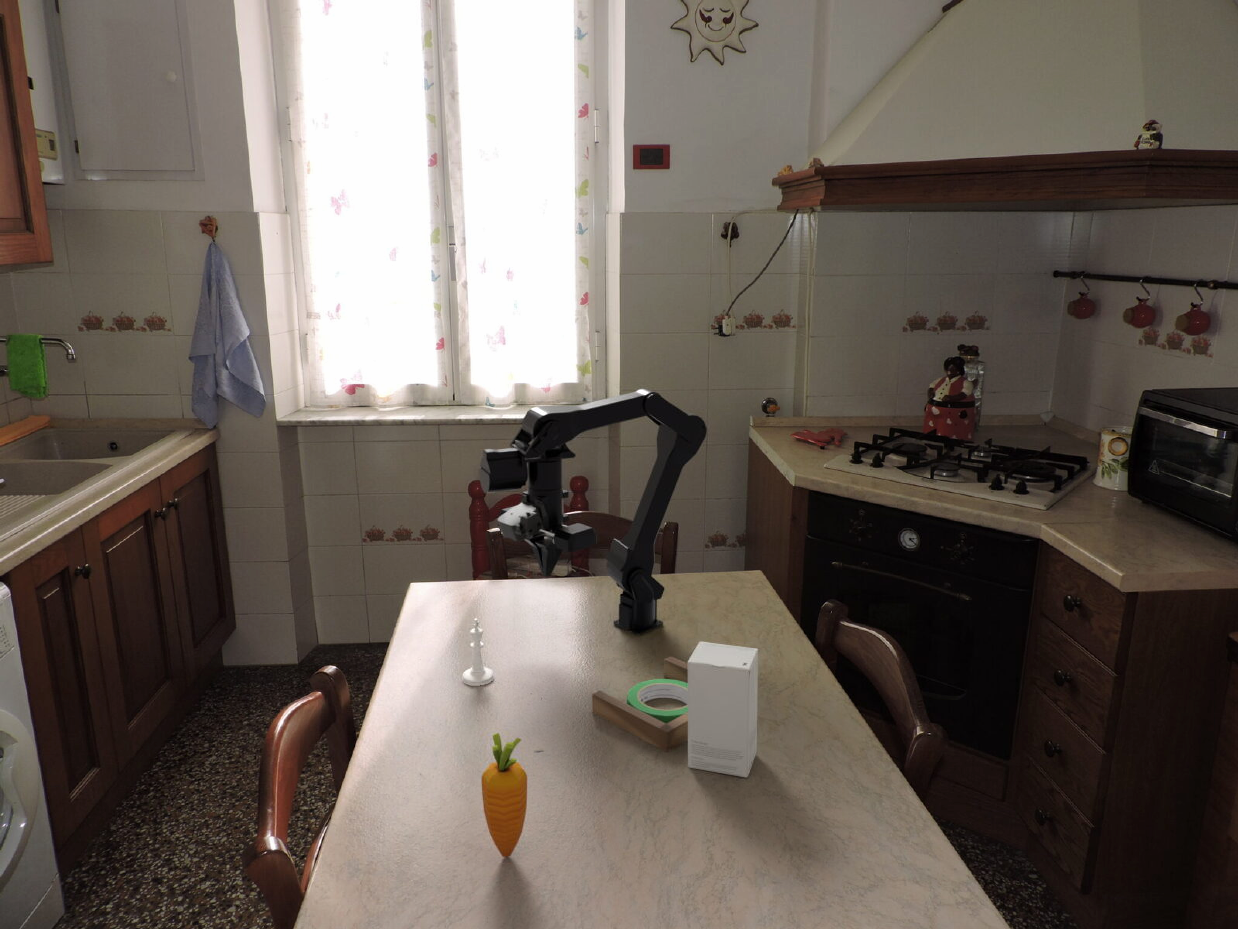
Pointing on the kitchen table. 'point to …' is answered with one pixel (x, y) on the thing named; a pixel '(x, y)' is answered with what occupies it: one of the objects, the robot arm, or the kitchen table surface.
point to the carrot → (504, 797)
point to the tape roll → (659, 690)
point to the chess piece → (477, 661)
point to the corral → (642, 722)
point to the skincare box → (722, 708)
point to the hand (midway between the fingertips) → (546, 576)
